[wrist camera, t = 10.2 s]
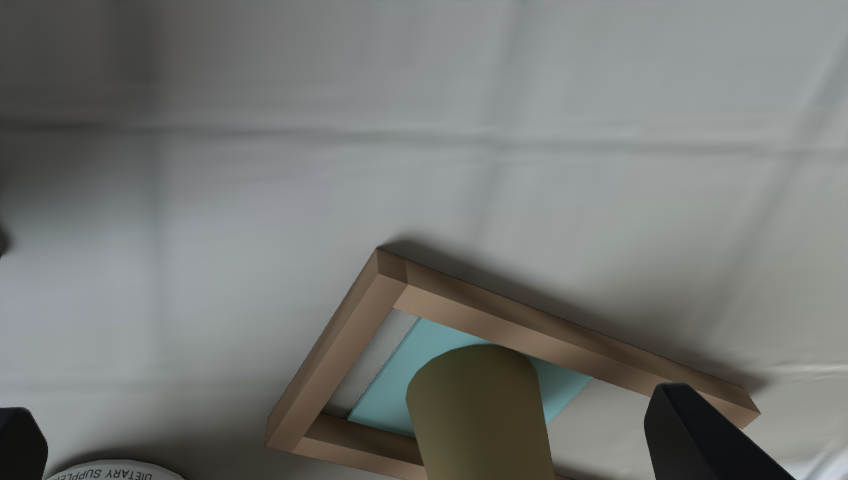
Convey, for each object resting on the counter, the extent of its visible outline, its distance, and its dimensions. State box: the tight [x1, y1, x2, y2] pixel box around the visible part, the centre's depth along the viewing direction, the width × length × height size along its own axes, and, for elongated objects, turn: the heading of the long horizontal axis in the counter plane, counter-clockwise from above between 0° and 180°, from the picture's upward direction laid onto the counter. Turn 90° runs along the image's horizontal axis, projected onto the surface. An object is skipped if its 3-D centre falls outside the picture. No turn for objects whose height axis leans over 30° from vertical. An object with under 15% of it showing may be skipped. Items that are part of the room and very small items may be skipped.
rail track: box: [265, 248, 761, 480], centre depth 29 cm, size 20×10×2 cm, turn 60°
